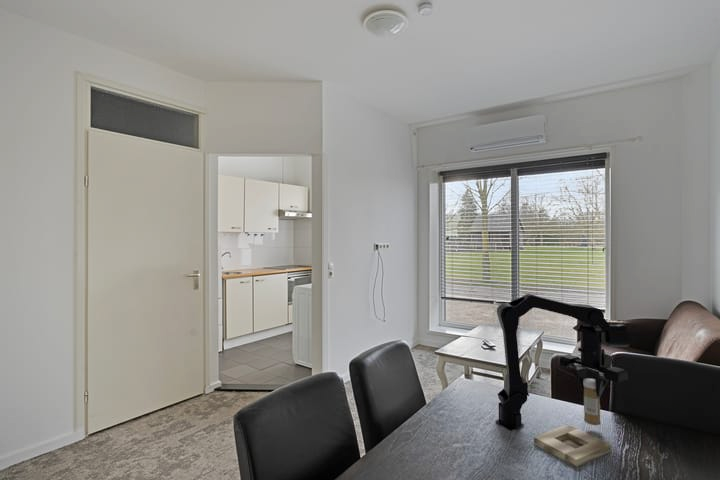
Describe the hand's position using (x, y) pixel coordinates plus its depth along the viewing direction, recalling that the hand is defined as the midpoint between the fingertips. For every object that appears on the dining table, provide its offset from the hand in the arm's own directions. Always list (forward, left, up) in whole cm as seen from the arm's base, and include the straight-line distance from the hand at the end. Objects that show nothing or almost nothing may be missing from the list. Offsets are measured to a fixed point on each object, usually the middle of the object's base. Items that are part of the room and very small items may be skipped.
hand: (591, 394), depth 117 cm
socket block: (+3, -15, -12) cm, 19 cm away
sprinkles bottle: (0, 0, -9) cm, 9 cm away
